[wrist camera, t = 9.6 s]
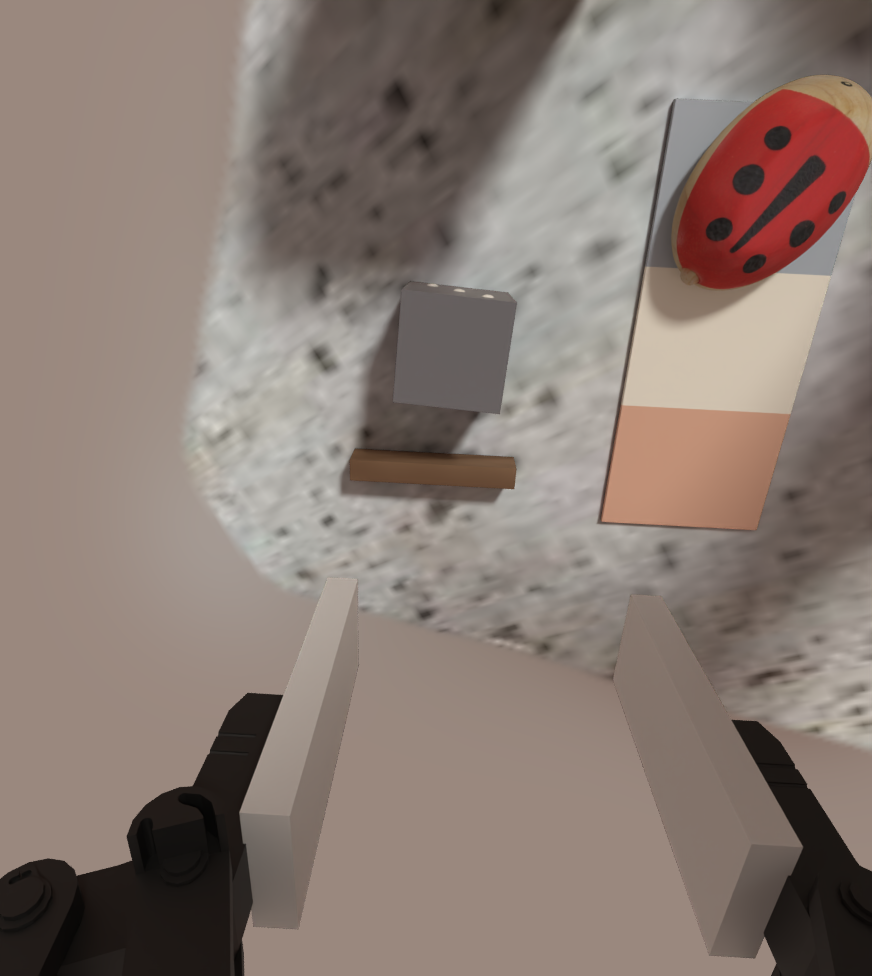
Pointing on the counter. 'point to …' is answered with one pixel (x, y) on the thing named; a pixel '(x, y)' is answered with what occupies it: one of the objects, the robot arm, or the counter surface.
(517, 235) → the counter surface
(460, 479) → the brown bar
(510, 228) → the counter surface
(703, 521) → the track
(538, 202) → the counter surface
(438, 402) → the die
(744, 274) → the ladybug figurine
